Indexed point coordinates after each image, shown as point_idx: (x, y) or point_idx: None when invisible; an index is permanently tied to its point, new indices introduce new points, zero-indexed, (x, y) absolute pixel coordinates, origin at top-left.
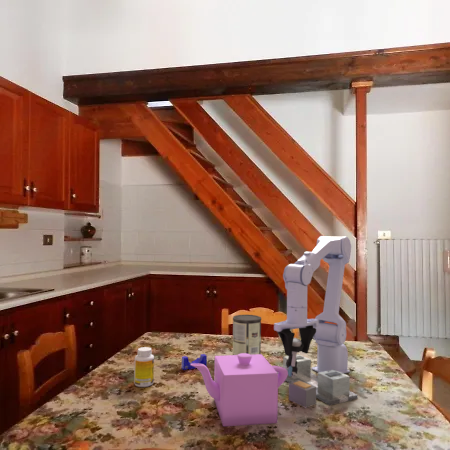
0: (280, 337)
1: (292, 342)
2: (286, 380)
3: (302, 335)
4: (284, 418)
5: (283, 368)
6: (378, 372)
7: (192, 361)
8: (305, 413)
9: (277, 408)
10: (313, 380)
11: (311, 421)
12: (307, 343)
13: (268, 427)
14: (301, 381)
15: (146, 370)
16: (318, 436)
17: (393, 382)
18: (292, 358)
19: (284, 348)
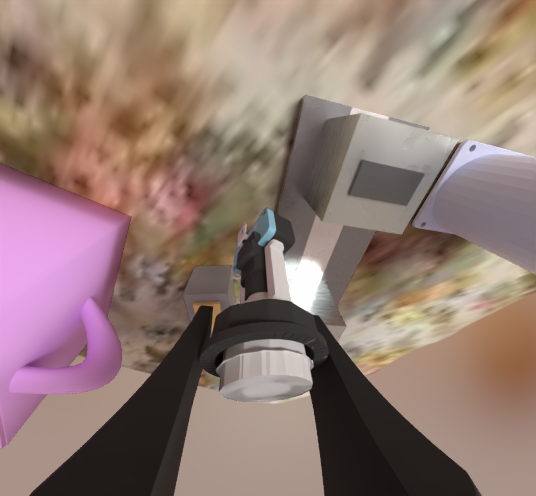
0: (116, 415)
1: (186, 427)
2: (285, 175)
3: (345, 423)
4: (131, 313)
5: (85, 391)
6: (514, 271)
7: None
8: (184, 317)
9: (86, 343)
10: (334, 239)
11: (174, 336)
12: (311, 396)
13: None
14: (227, 301)
15: None
16: (153, 360)
17: (452, 313)
18: (241, 299)
19: (185, 333)
